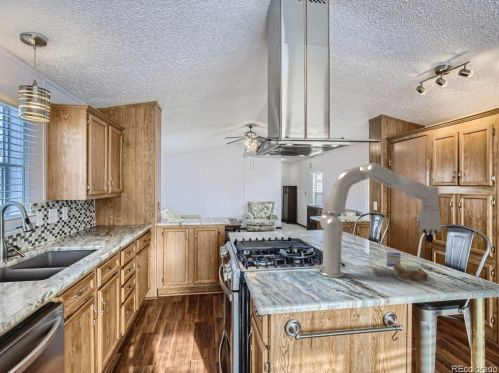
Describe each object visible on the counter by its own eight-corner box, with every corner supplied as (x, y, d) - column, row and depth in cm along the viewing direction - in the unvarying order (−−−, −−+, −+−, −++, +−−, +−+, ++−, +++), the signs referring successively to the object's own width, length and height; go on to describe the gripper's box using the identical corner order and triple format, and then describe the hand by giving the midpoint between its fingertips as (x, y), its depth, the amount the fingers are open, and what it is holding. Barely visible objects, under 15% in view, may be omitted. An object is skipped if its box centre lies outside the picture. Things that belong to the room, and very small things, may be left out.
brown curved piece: (401, 279, 145) (402, 271, 145) (393, 270, 160) (393, 263, 160) (427, 281, 142) (427, 273, 142) (416, 272, 158) (416, 265, 158)
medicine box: (386, 266, 168) (386, 252, 168) (384, 264, 173) (384, 250, 173) (400, 267, 167) (400, 253, 166) (398, 265, 171) (398, 251, 171)
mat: (377, 276, 149) (377, 275, 149) (371, 268, 162) (371, 268, 162) (399, 278, 146) (399, 277, 146) (392, 270, 160) (392, 269, 160)
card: (406, 270, 147) (406, 265, 147) (401, 265, 156) (401, 261, 156) (418, 271, 146) (418, 266, 146) (412, 266, 155) (412, 262, 155)
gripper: (442, 208, 151) (441, 241, 151) (412, 207, 154) (411, 240, 154) (448, 209, 144) (448, 244, 144) (417, 208, 147) (416, 242, 147)
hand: (429, 242), depth 149 cm, fingers closed
